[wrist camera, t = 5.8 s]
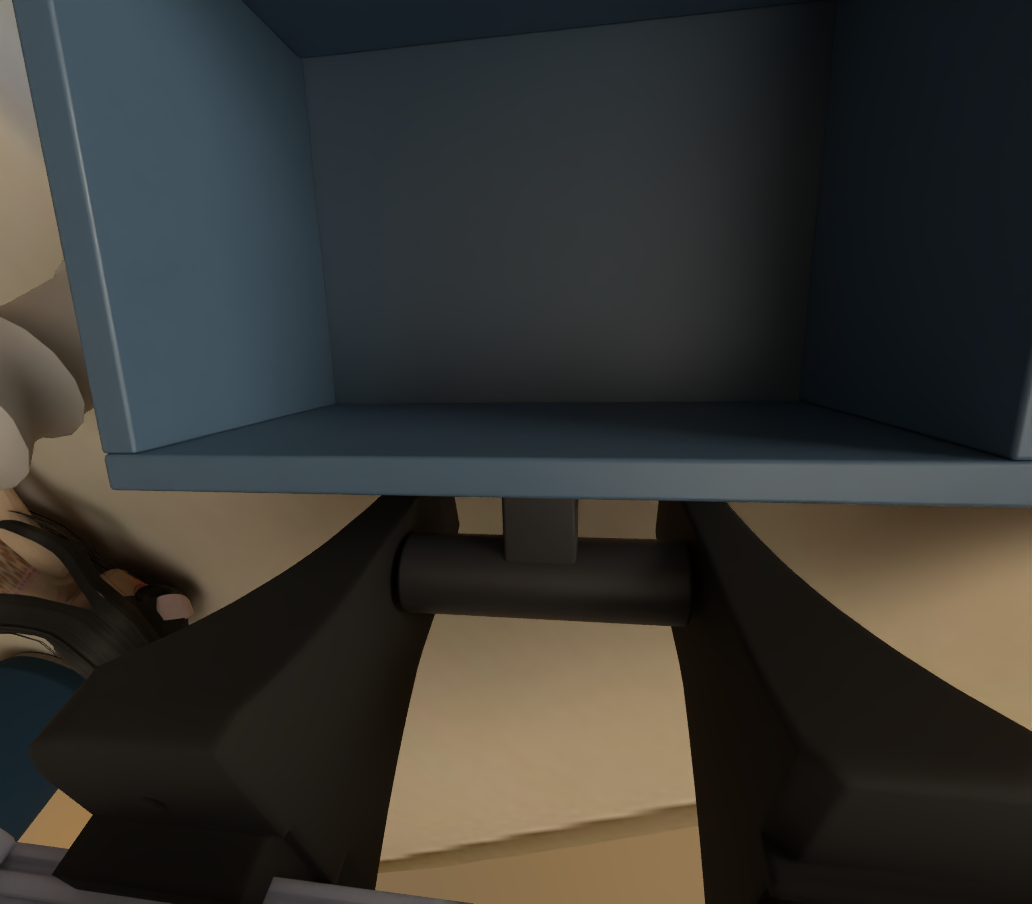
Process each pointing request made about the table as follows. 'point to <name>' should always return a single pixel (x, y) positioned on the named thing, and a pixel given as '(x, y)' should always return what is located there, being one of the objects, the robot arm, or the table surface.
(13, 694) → the soda can
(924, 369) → the basket
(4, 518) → the toy figure
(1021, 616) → the table surface
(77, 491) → the table surface
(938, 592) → the table surface
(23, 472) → the rook chess piece
